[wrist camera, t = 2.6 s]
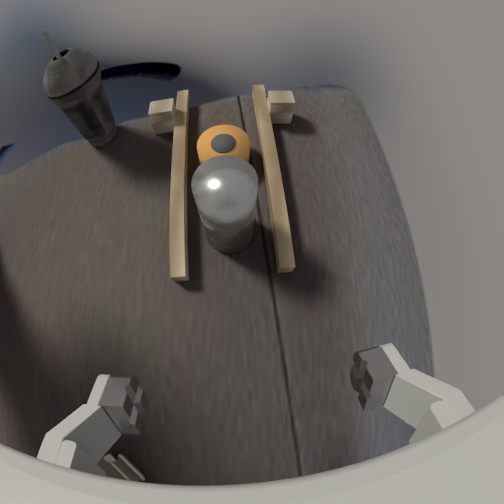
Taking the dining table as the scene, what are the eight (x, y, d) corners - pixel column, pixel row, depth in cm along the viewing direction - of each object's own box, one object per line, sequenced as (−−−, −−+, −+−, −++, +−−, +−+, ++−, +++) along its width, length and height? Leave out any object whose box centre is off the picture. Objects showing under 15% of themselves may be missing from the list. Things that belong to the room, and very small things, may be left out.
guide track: (147, 283, 28) (134, 274, 25) (159, 103, 36) (154, 84, 32) (319, 268, 30) (330, 258, 26) (283, 94, 37) (286, 74, 33)
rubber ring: (194, 176, 33) (190, 160, 30) (206, 137, 34) (204, 121, 31) (244, 182, 32) (245, 167, 29) (253, 143, 34) (254, 127, 31)
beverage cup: (126, 110, 36) (85, 0, 17) (125, 145, 34) (68, 24, 15) (84, 125, 35) (30, 27, 16) (79, 161, 33) (8, 57, 14)
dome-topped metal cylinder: (201, 249, 30) (183, 206, 20) (211, 206, 31) (200, 151, 22) (248, 257, 30) (252, 216, 20) (256, 213, 31) (262, 159, 22)
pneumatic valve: (101, 421, 24) (37, 450, 12) (177, 496, 21) (148, 557, 10) (76, 442, 22) (13, 472, 11) (146, 513, 20) (112, 569, 9)
